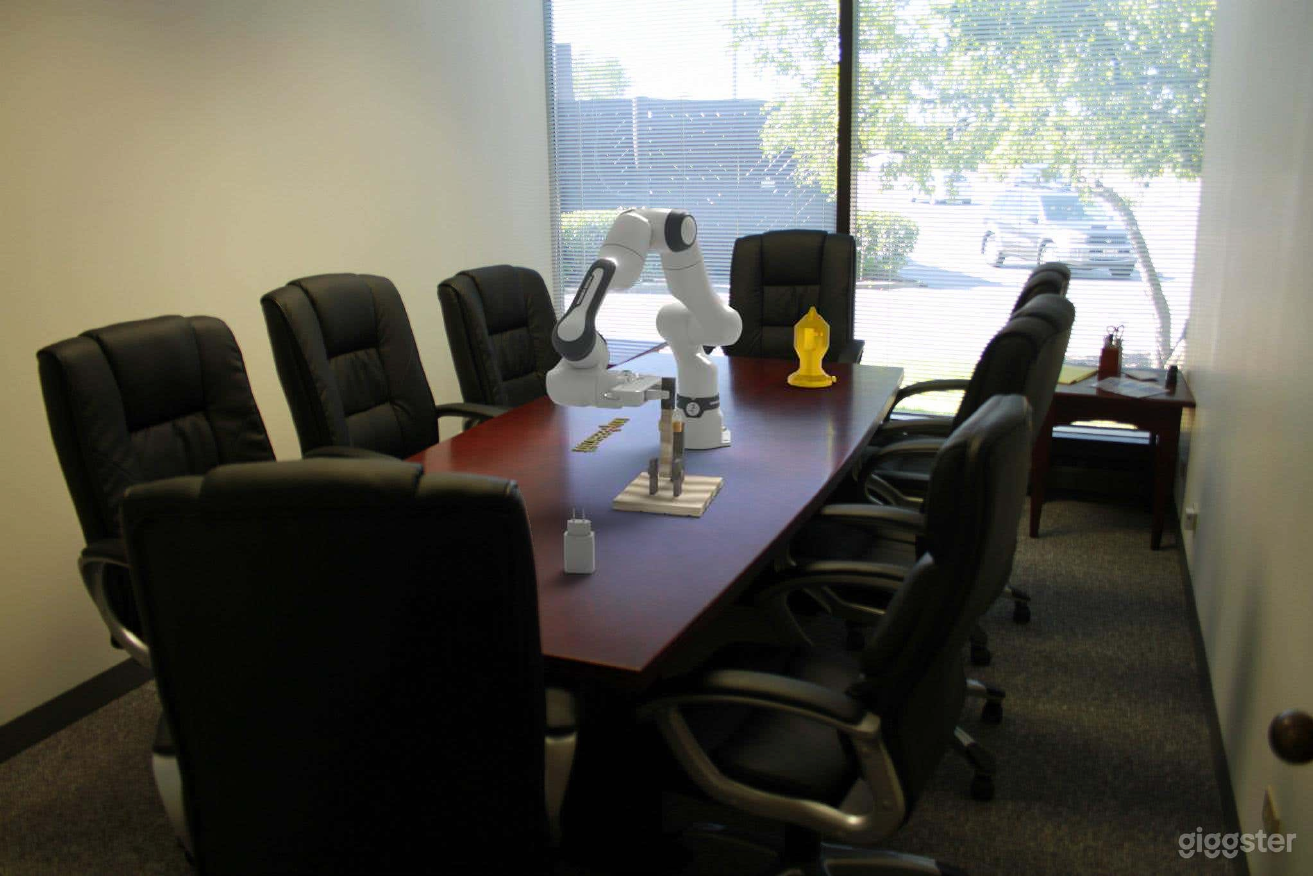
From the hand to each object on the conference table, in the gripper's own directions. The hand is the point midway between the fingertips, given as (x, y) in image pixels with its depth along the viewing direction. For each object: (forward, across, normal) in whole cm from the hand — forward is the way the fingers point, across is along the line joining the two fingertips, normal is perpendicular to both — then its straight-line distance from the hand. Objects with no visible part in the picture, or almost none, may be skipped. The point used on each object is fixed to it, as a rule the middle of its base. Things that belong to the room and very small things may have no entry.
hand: (672, 392), depth 220 cm
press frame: (-1, +2, +25) cm, 25 cm away
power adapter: (-6, -47, +26) cm, 53 cm away
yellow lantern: (+13, +151, +24) cm, 153 cm away
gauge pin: (-1, +5, +9) cm, 11 cm away
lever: (-1, -3, +18) cm, 18 cm away
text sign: (-36, +54, +25) cm, 69 cm away
